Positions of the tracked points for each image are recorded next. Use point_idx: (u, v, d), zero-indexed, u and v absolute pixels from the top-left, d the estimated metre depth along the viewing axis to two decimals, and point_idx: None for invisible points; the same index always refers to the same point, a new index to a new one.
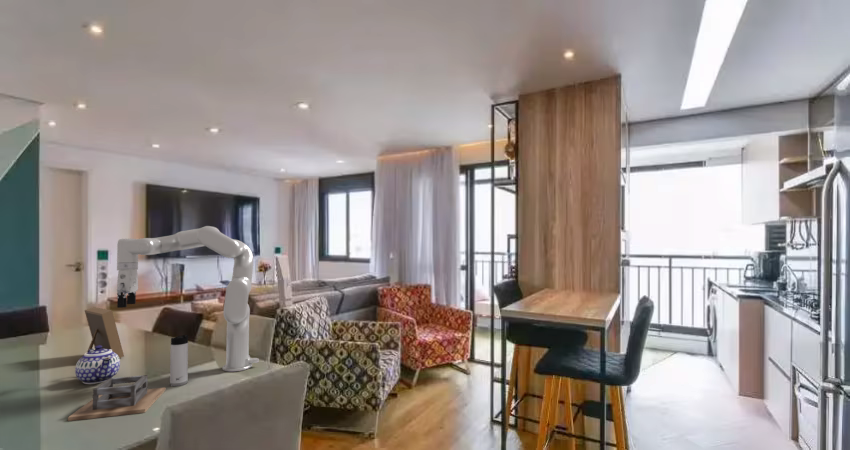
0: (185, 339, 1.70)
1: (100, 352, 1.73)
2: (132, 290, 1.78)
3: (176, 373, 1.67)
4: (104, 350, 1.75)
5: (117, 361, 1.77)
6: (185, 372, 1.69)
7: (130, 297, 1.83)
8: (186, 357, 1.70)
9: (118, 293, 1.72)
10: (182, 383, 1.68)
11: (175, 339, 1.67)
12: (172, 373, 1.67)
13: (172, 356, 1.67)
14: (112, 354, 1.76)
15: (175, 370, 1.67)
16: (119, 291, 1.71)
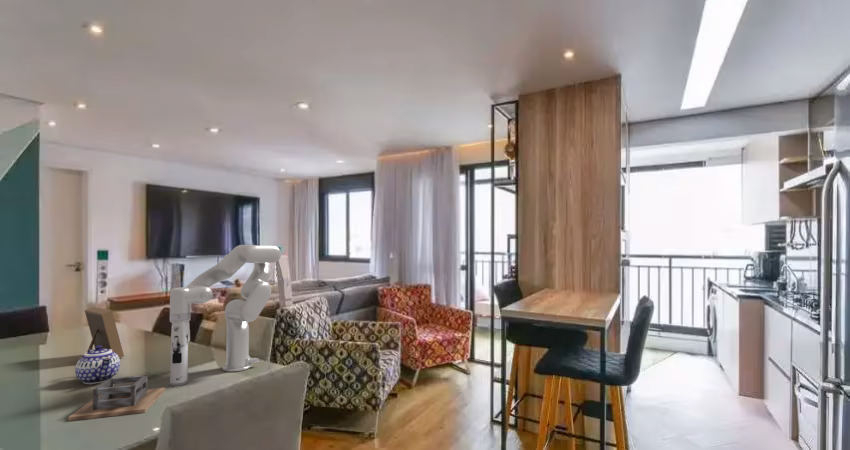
0: None
1: (100, 352, 1.73)
2: (185, 342, 1.69)
3: (176, 373, 1.67)
4: (104, 350, 1.75)
5: (117, 361, 1.77)
6: (185, 372, 1.69)
7: None
8: (186, 357, 1.70)
9: (174, 349, 1.64)
10: (182, 383, 1.68)
11: None
12: (172, 373, 1.67)
13: (172, 356, 1.67)
14: (112, 354, 1.76)
15: (175, 370, 1.67)
16: (175, 348, 1.63)
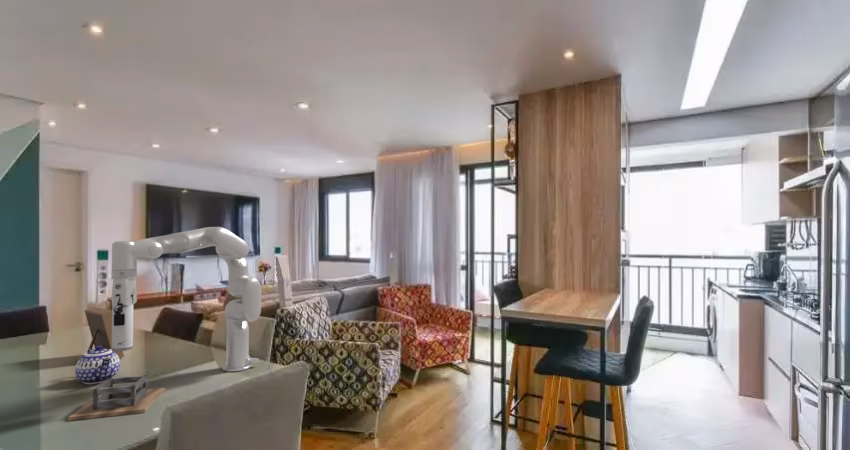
0: None
1: (100, 352, 1.73)
2: (130, 303, 1.49)
3: (118, 337, 1.46)
4: (104, 350, 1.75)
5: (117, 361, 1.77)
6: (129, 336, 1.49)
7: None
8: (131, 319, 1.50)
9: (114, 309, 1.43)
10: (125, 348, 1.47)
11: None
12: (114, 336, 1.46)
13: None
14: (112, 354, 1.76)
15: (117, 334, 1.46)
16: (115, 308, 1.43)
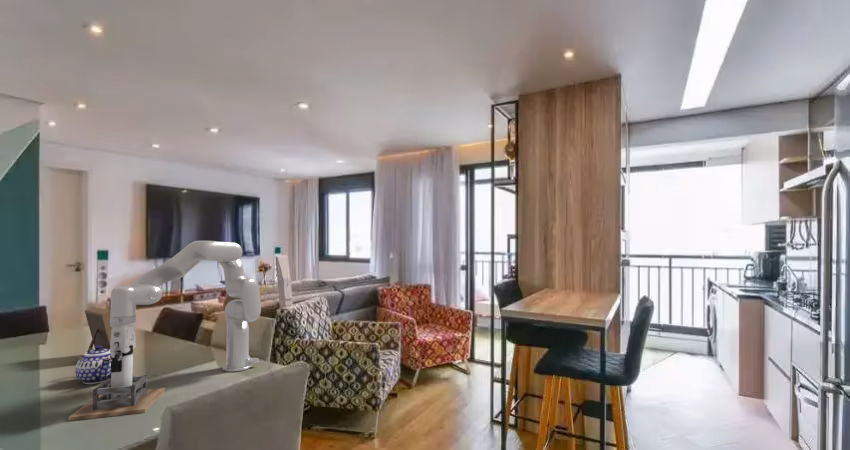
0: None
1: (100, 352, 1.73)
2: (128, 349, 1.48)
3: None
4: (104, 350, 1.75)
5: None
6: None
7: None
8: (131, 370, 1.49)
9: (111, 356, 1.41)
10: None
11: None
12: None
13: None
14: None
15: (116, 386, 1.45)
16: (113, 353, 1.41)
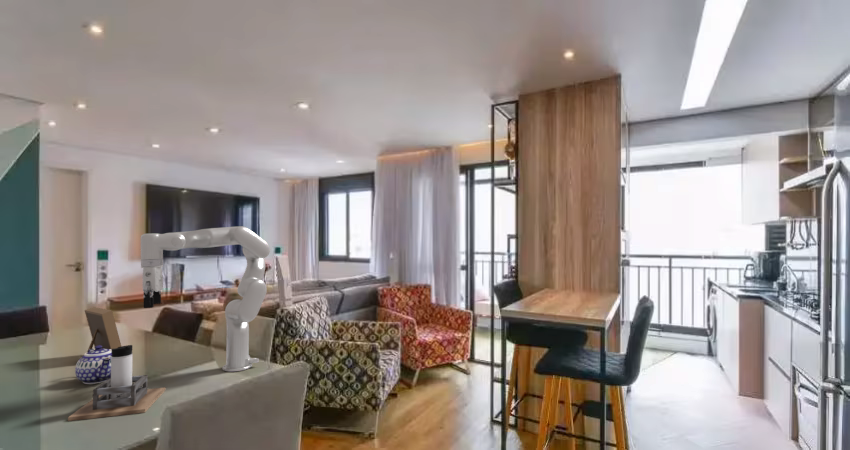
0: (128, 350, 1.48)
1: (100, 352, 1.73)
2: (158, 289, 1.65)
3: None
4: (104, 350, 1.75)
5: None
6: None
7: (155, 296, 1.70)
8: (130, 371, 1.49)
9: (145, 292, 1.58)
10: None
11: (116, 350, 1.46)
12: None
13: (112, 370, 1.46)
14: None
15: (116, 386, 1.45)
16: (146, 290, 1.58)
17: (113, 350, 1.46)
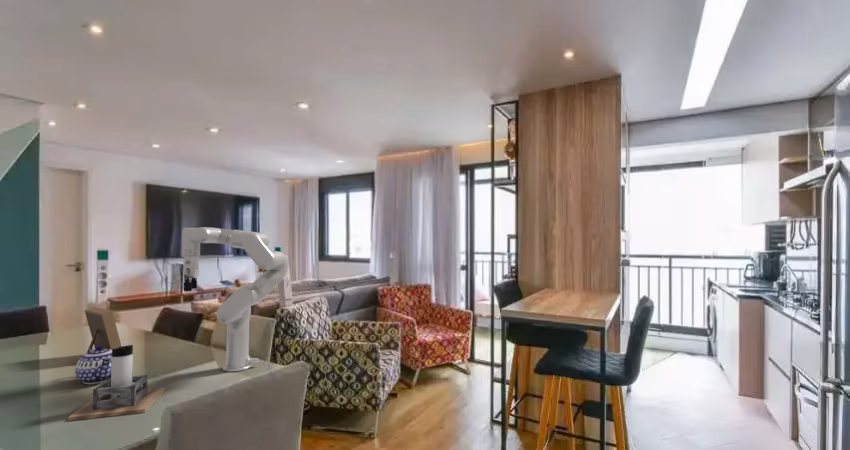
0: (128, 350, 1.48)
1: (100, 352, 1.73)
2: (196, 275, 1.92)
3: None
4: (104, 350, 1.75)
5: None
6: None
7: (192, 282, 1.98)
8: (130, 371, 1.49)
9: (185, 277, 1.86)
10: None
11: (116, 350, 1.46)
12: None
13: (113, 370, 1.46)
14: None
15: (116, 386, 1.45)
16: (186, 276, 1.86)
17: (113, 350, 1.46)
